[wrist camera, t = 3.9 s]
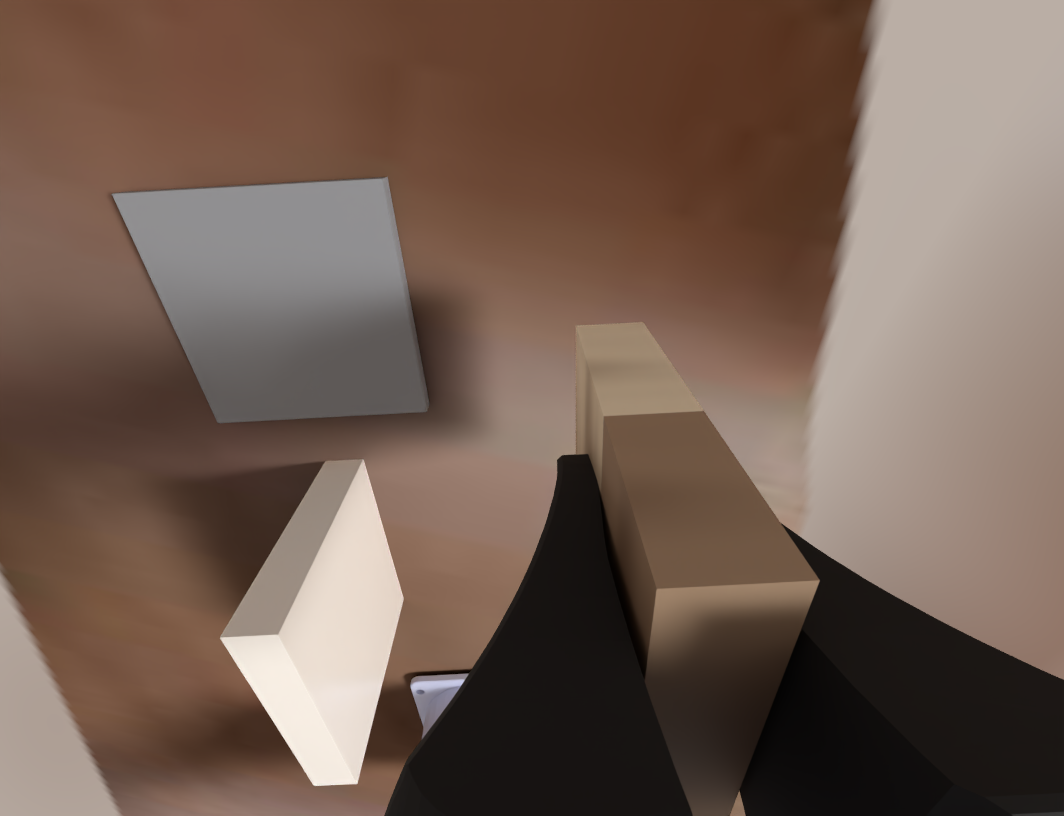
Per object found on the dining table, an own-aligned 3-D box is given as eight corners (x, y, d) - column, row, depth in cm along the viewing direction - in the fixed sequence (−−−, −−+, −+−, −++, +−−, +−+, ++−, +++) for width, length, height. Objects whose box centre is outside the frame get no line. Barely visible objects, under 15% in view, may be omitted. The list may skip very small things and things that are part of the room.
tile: (403, 598, 24) (357, 783, 17) (370, 599, 24) (310, 786, 17) (363, 458, 20) (278, 634, 13) (322, 460, 20) (214, 637, 13)
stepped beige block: (628, 512, 14) (722, 831, 8) (575, 514, 14) (624, 837, 8) (642, 321, 11) (819, 580, 5) (575, 325, 11) (656, 589, 5)
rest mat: (429, 404, 18) (426, 411, 18) (226, 415, 18) (218, 423, 18) (387, 177, 14) (382, 178, 14) (126, 191, 14) (111, 193, 14)
